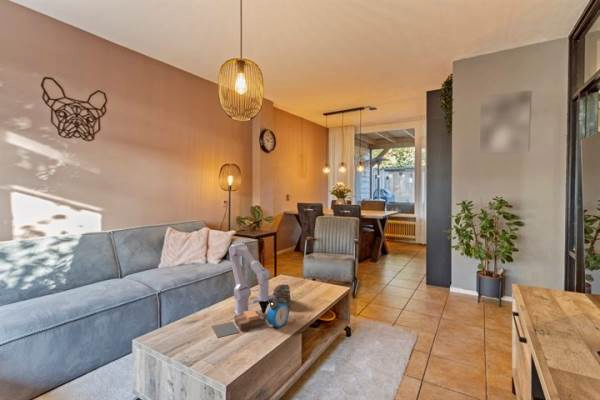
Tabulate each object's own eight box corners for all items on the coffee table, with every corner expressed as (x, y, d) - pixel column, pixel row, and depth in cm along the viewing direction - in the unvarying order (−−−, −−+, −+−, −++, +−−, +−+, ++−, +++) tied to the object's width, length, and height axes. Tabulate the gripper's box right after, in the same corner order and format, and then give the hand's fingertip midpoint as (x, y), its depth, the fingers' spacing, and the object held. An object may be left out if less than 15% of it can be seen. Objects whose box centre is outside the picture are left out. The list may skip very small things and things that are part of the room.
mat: (211, 326, 167) (211, 326, 167) (232, 321, 172) (232, 321, 172) (217, 337, 154) (217, 337, 154) (239, 332, 160) (239, 331, 160)
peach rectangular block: (243, 314, 173) (243, 311, 173) (253, 312, 176) (253, 309, 176) (248, 321, 165) (248, 317, 165) (258, 318, 168) (258, 315, 168)
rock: (295, 281, 196) (272, 277, 194) (293, 302, 186) (269, 298, 185) (290, 291, 210) (269, 288, 208) (288, 312, 200) (266, 308, 199)
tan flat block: (234, 322, 172) (234, 315, 172) (256, 317, 179) (256, 310, 179) (240, 331, 162) (241, 324, 161) (264, 325, 169) (264, 318, 168)
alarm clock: (274, 331, 162) (274, 304, 161) (266, 328, 166) (266, 302, 165) (289, 322, 172) (289, 297, 171) (281, 319, 176) (281, 295, 175)
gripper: (254, 294, 167) (254, 318, 167) (277, 290, 174) (277, 312, 175) (250, 290, 173) (250, 313, 174) (272, 287, 180) (272, 308, 181)
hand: (263, 312), depth 174 cm, fingers closed
